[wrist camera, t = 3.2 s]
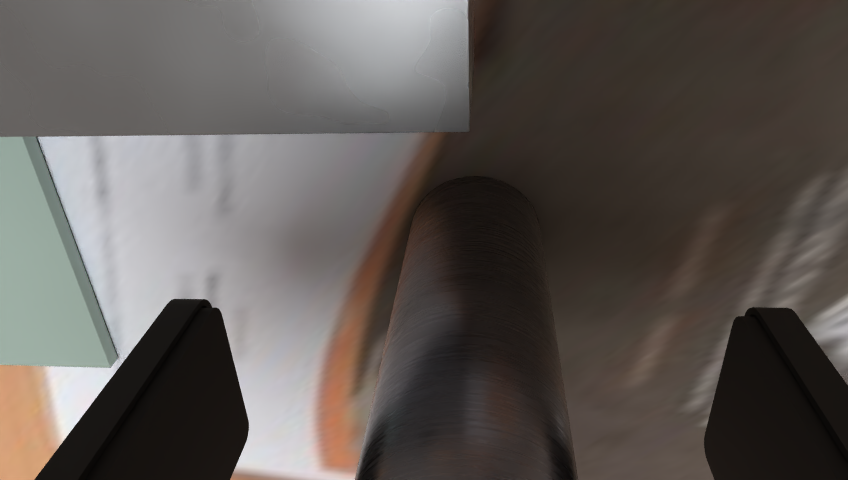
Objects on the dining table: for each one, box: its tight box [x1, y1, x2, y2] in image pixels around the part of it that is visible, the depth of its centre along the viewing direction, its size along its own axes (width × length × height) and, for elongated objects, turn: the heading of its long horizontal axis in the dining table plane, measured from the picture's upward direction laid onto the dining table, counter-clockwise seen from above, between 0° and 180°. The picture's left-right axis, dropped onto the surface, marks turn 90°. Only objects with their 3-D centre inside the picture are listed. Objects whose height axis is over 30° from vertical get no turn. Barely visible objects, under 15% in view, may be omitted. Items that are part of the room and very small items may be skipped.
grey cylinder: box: [355, 176, 578, 480], centre depth 9 cm, size 3×3×13 cm
